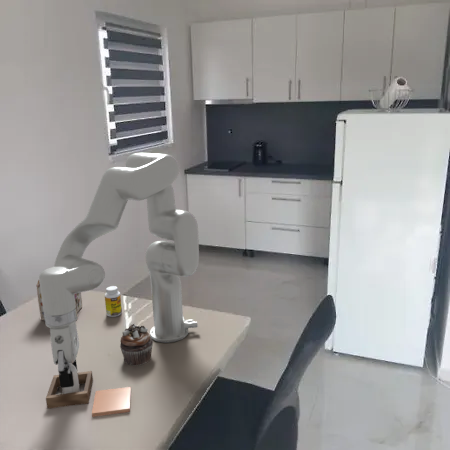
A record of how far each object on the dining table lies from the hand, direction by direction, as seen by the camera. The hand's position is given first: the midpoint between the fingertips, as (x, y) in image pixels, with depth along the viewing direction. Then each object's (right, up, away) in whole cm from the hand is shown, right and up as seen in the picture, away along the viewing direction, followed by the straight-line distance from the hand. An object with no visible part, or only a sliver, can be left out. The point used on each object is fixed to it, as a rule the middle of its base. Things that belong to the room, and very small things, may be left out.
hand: (69, 379), depth 116 cm
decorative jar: (-19, +7, +48) cm, 52 cm away
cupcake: (+15, 0, +17) cm, 23 cm away
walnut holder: (0, -4, +1) cm, 4 cm away
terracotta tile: (+12, -5, -3) cm, 13 cm away
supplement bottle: (0, +7, +46) cm, 47 cm away
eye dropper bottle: (0, -5, +1) cm, 5 cm away
